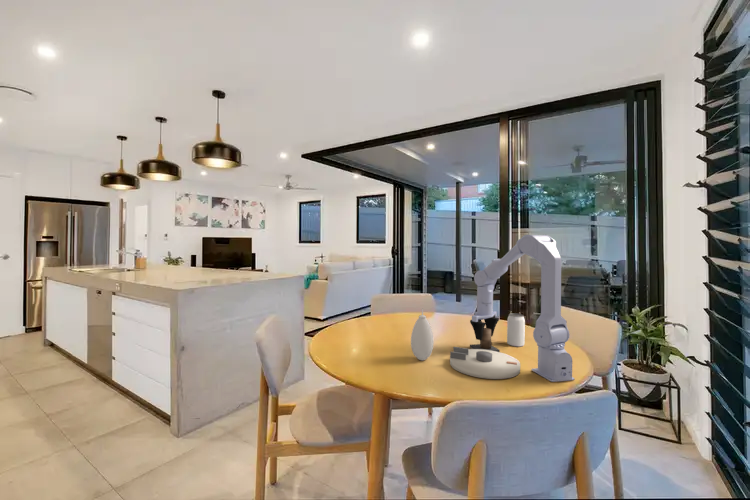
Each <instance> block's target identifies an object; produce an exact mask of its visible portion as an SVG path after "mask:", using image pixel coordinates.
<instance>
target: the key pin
mask: <svg viewBox="0 0 750 500" xmlns="http://www.w3.org/2000/svg"><path fill="white" fill-rule="evenodd" d="M479 344H480V348H482V349H491V345H492V337H491V329H489V328H486V327H484V330H483V337H482V340H479Z"/></svg>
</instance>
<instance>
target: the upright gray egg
mask: <svg viewBox="0 0 750 500" xmlns="http://www.w3.org/2000/svg"><path fill="white" fill-rule="evenodd" d="M434 341H435V339H434V333H433V329H432V327H431V324H430V322H429V320H428V319H427V316H426V315H424V308H422V309H421V315H419V316H418V318H417V319H416V321H415V323H414V325H413V328H412V331H411V335H410V347H411V351H412V354H413V355H414V356H415V357H416V359H417V360H419V361H425V360H427V359H428V358H430V356H431V355H432V352H433V349H434Z"/></svg>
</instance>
